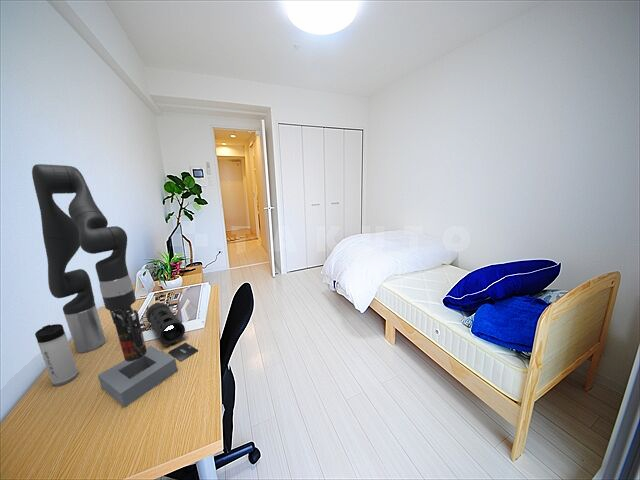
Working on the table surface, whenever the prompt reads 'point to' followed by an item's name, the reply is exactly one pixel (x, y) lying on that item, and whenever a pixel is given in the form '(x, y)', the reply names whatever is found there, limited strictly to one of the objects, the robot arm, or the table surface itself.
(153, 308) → the muzzle brake
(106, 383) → the block
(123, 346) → the deodorant
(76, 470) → the table surface
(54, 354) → the travel mug
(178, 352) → the solid state drive
